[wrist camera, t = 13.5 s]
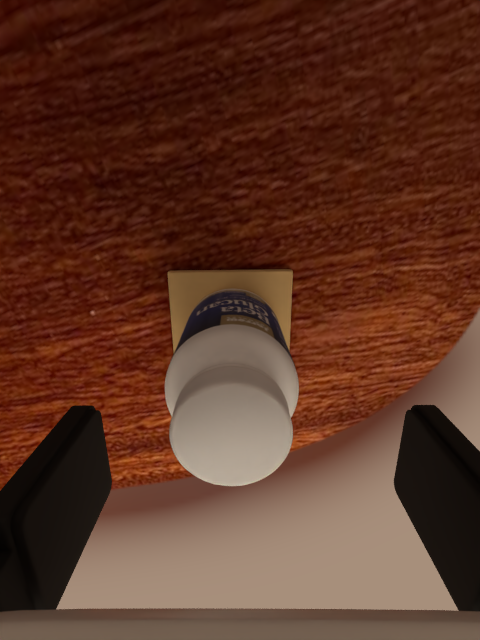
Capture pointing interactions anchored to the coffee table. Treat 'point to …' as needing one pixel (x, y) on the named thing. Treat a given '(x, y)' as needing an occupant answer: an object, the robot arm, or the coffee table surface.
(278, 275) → the mat
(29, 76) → the coffee table surface
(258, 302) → the pill bottle
